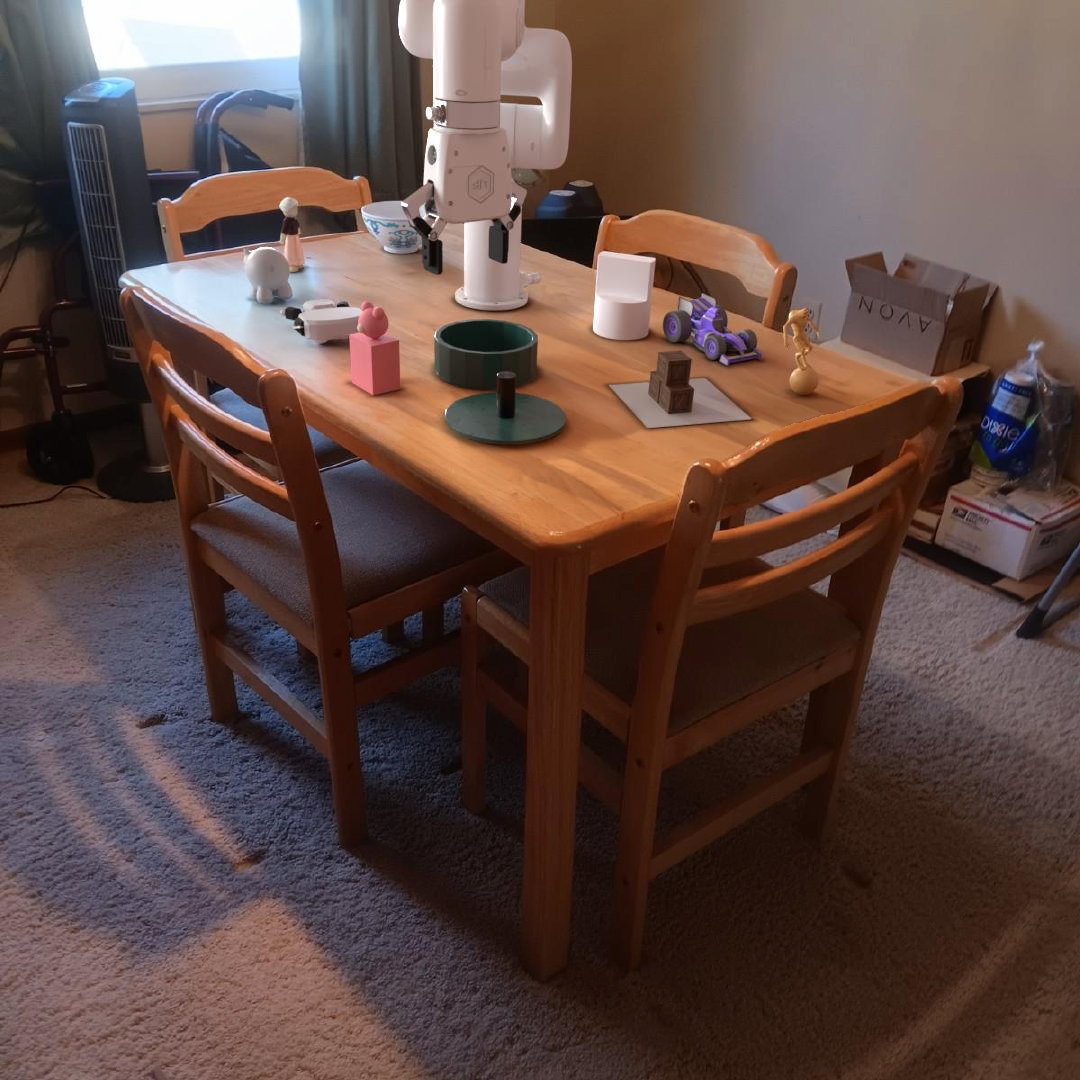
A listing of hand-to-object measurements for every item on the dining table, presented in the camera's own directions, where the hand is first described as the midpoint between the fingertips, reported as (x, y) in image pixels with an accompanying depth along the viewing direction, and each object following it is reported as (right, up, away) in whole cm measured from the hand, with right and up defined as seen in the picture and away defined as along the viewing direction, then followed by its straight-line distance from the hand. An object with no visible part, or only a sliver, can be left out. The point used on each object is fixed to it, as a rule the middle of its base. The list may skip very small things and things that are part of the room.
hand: (466, 266), depth 123 cm
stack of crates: (+28, -15, +16) cm, 35 cm away
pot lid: (+5, -18, +7) cm, 20 cm away
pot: (+1, -9, +23) cm, 25 cm away
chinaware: (-19, +24, +78) cm, 84 cm away
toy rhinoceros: (-38, +8, +49) cm, 62 cm away
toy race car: (+36, -3, +35) cm, 51 cm away
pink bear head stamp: (-14, -12, +16) cm, 24 cm away
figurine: (+46, -12, +21) cm, 52 cm away
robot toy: (-24, -2, +33) cm, 41 cm away
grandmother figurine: (-36, +17, +63) cm, 75 cm away
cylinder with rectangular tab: (+22, 0, +41) cm, 46 cm away
